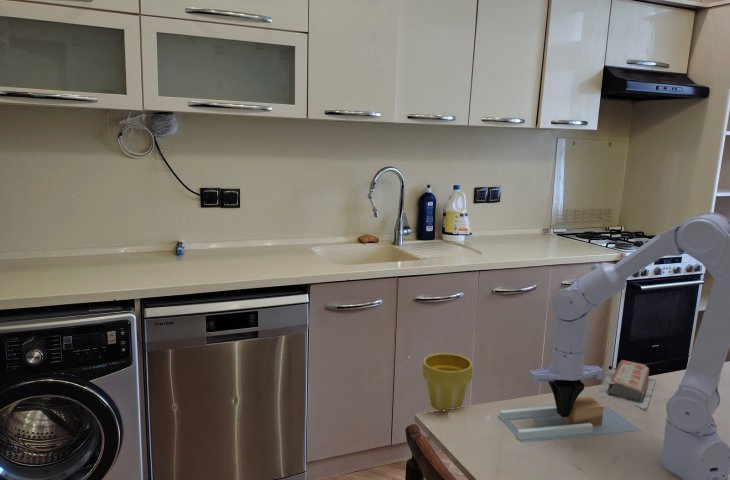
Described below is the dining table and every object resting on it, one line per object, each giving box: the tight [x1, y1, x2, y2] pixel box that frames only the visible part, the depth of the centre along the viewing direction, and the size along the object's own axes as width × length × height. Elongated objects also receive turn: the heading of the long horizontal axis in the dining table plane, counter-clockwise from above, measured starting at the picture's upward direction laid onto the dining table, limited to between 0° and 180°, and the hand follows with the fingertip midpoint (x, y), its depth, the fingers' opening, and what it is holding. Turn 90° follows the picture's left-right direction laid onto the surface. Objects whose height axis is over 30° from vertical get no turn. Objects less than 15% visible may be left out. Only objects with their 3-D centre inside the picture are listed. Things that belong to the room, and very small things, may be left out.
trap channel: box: [497, 405, 642, 443], centre depth 106 cm, size 10×25×2 cm, turn 102°
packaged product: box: [596, 359, 657, 412], centre depth 123 cm, size 18×5×10 cm
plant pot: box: [422, 352, 474, 413], centre depth 113 cm, size 10×10×10 cm
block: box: [562, 395, 604, 427], centre depth 106 cm, size 4×6×4 cm
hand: (562, 414), depth 105 cm, fingers closed
